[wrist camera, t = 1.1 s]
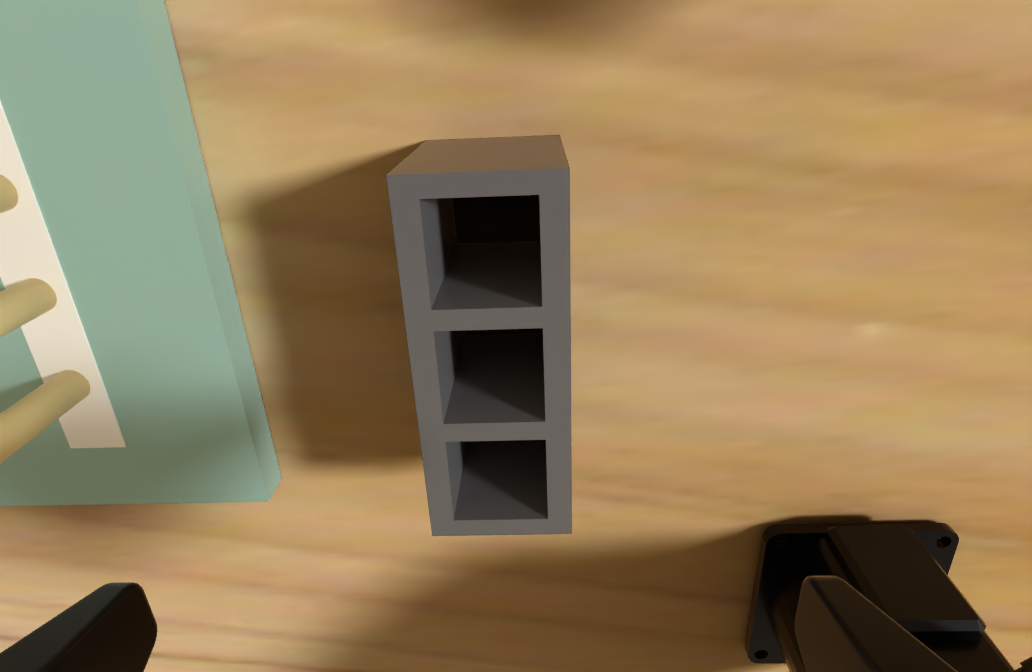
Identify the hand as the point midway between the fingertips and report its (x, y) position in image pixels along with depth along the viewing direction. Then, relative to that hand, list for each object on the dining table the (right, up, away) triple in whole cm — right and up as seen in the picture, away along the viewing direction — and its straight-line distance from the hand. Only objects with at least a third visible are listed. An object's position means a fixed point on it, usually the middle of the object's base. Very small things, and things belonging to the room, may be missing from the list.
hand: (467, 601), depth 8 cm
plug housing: (0, +5, +10) cm, 11 cm away
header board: (-13, +5, +10) cm, 17 cm away
